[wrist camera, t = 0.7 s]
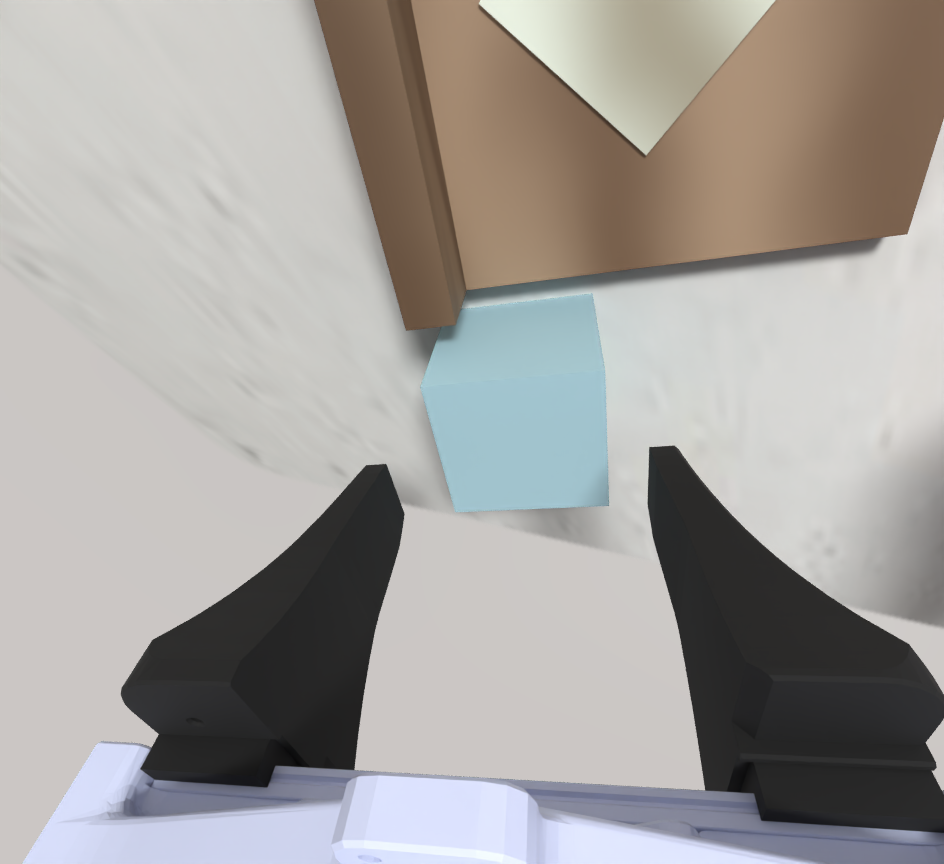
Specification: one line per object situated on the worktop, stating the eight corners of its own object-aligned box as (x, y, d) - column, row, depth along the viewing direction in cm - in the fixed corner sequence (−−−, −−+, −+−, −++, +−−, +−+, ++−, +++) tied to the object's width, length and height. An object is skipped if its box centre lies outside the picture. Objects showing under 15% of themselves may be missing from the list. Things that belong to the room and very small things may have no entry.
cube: (592, 292, 17) (604, 369, 14) (597, 413, 20) (609, 505, 16) (447, 310, 18) (420, 386, 15) (472, 422, 21) (455, 512, 17)
